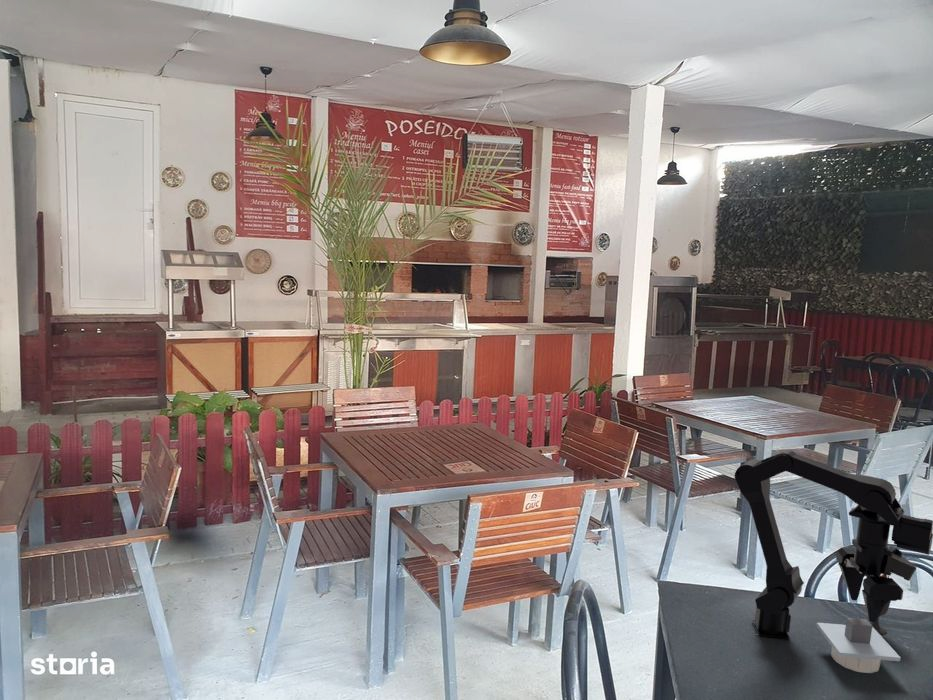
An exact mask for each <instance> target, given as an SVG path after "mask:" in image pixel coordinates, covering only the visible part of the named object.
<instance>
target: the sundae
mask: <svg viewBox="0 0 933 700" xmlns="http://www.w3.org/2000/svg"><path fill="white" fill-rule="evenodd" d="M892 574H893V573H892V572H891V575H892ZM880 576H881V577H885V578H890V575H884V574H881V575H880ZM891 602H892V601H890V602H888V603H887V604H886V605H885V606H884V608H883V610H882V611H881V613H880V615H879V616H878V618H877V620H876V621H875V622H869V623H870V624H871V625H872V627H873V628H874V629H875V630H876V631H877V632H878V633H879V634H880V635H881V636H882V635H885V634H887V632H888V631H887V629H886V628H885V627H883V626H881V625H880V624H879V619H880V617H882V616H884V615H886V614H887V612H888V611H889V608H890V605H891Z"/></svg>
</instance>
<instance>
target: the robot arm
mask: <svg viewBox="0 0 933 700" xmlns="http://www.w3.org/2000/svg"><path fill="white" fill-rule="evenodd" d="M784 472H786V473H790V474H793V475H795V476H798V477H800V478H803V479H805V480H808V481H811V482H813V483H816V484H818V485H821V486H822V487H826V488H828V489H831V490H834V491H836V492H839V493H840V494H843V495H844V496H845V497H847V498H848V499H849V500H851V501H852V502H854V503H855V504H857V505H856V506H855V507H853V508H851V509H850V511H849V512H848V515H849V516H851V517H854V518H858V525H857V532H856V538H855V539H854V538H852V539H851V544H852V545H853V546H854V548H852V547H840V548H839V549H837V550H836V556H835V559H836V560H837V562H838V563H837V564H838V566H839V568H840V571H841V574H842V576H843V579H844V582H845V586H846V588H847V590H848V591H847V592H848V594H849V597H850V600H851V601H858V599H859V597H860V592H862V597H863V599H864V600H863V602H864V605H865V606H864V607H865V610H866V614H867V620H868V622H869V623H871V622H875V621H876V620H877V618H878V616H879V615H880V613H881V611H882V610H883V608H884V606H885V605H886V604H887V603H888V602H890V601H891V602H896V601H901V600H902V601H903V597H904V596H903V595H904V589H903V588H902V587H901V586H900V585H899V584H898V583H897V582H896V581H895V580H894V579H893V577H890V576H891V575H892V574H894V575H896V576H898V577H900V578H903V580H905V581H907V582H909V581H910V580H911V579H912V577H913V575H914V573H915V571H917V567H916V566H915V565H914V563H912V562H911V561H910V560H909V559H907V558H906V557H904V556H902V554H903V552H902V550H900V549H904V550H907V551H912V552H915V553H919V554H924V555H927V556H929V555H930V554H931V549H932V544H933V520H932V519H927V518H920V517H915V516H910V515H906V514H905V510H904V509H903V507H902V505H901V504H900V502H899V500H898V499H897V498H896V497H897V496H896V495H897V493H896V489H895V487H894V486H893V484H892V483H891V482H890V481H888V480H886V479H883V478H879V477H875V476H870V475H861V474H854V473H850V472H846V471H843V470H841V469H838V468H835V467H833V466H830V465H828V464H825V463H823V462H819V461H817V460H814V459H811V458H808V457H806V456H803V455H800V454H798V453H796V452H794V451H792V450H789V449H785V450H783V451H781V452H780V453H777V454H774V455H771V456H769V457H766V458H763V459H762V460H759V459H750V460H748V461H746V462H745V463H743V464H742V465H740V466H739V467H738V468H737V469H736V470H735V471H734V481H735V483H736V485H737V488H738V489H739V492H740V494H741V495H742V496H743V498H744V499H745V500H746V501H747V503H748V505H749V507H750V508H749V509H750V511H751V514H752V517H753V522H754V525H755V529H756V532H757V536H758V539H759V544H760V547H761V550H762V553H763V558H764V561H765V565H766V571H765V572H766V573H765V588H764V589H763V590H762V591H761V592H760V593H759V594H758V596H757V597H756V598H755V605H756V606H755V607H756V608H755V616H754V619H752V620H751V621H752V622H751V623H752V625H753V626H754V629H755V631H756V633H757V634H758V636H760V637H767V638H775V639H785V640H788V639H790V636H789V634H788V633H789V632H790V627H791V621H792V620H791V619H792V615H791V614H790V608H789V607H792V606H793V604H794V603H795V601H796V600H797V598H798V597H799V596H800V594H801V592H802V590H803V585H804V584H805V582H804V580H803V579H802V578H801V572H800V571H801V570H800V568H799V567H800V566H799V565H798V566H792V565H791V563H790V562H789V561H788V559H787V556H786V553H785V549H784V548H785V547H784V544H783V541H782V537H781V535H780V531H779V528H778V527H779V526H778V524H777V520H776V517H775V513H774V510H773V506H772V502H771V497H770V495H771V479H770V478H772V477H773V478H774V476H777V475H780V474H782V473H784ZM891 526H892V533H891V541H892V542H893V545H896V547H895V546H893V545H892V546H890V547H888V544H889V537H890V532H891V531H890V529H891ZM891 573H892V574H891ZM882 574H884V575H887V576H889V578H888V577H887V578H885V577H881V576H882ZM864 577H865V578H864ZM862 587H863V589H862ZM891 602H890V603H891Z"/></svg>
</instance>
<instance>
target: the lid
mask: <svg viewBox="0 0 933 700" xmlns="http://www.w3.org/2000/svg"><path fill="white" fill-rule="evenodd" d="M845 621H846V622H845V624H840V623H839V624H838V623H826V622H816V624H815V625H816V627H817V628H818V630H819V631H820V633H821V635H823V636H824V638H825V639H826V641H827V642H828V643H829V645H830V646H831V648H832V647H833V648H834V650H835V651H836V652H837V654H838V655H839V656H842V657H854V658H866V659H878V660H881V661H891V662H901V658H902V657H901V656H900V655H899V654H898V653H897V651H895V650H894V649H893V648H892V646H891V645H890V644H889V643H888V642H887V641H886V640H885V639H884V637H883V636H882V635H880V634H879V633H878V632H877V631H876V630H875V629H874V628H873V627H872V625H871V624H870V623H871V622H870V621H869V620H868V619H867V618H858V617H857V618H856V617H855V618H854V617H846V620H845Z"/></svg>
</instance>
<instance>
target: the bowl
mask: <svg viewBox="0 0 933 700" xmlns="http://www.w3.org/2000/svg"><path fill="white" fill-rule="evenodd" d="M830 652H831V653H830V656H831V657H832V659H833V661H834V662H836V663H837V664H839V665H840V666H842V667H843V668H845V669H848V670H850V671H853V672H857V673H865V674H872V673H876V672H879V670H880V667H881V662H882V660H878V659H866V658H854V657H842V656H839V655H838V654H837V652H836V651H835V650H834V648H833V647H832V646H831V651H830Z"/></svg>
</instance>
